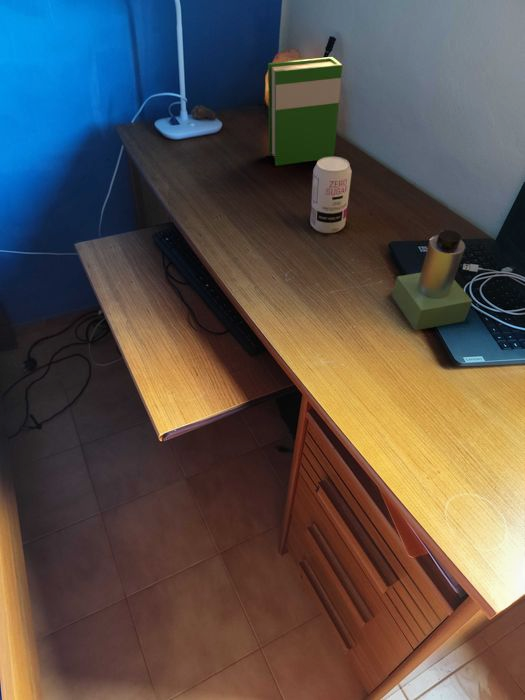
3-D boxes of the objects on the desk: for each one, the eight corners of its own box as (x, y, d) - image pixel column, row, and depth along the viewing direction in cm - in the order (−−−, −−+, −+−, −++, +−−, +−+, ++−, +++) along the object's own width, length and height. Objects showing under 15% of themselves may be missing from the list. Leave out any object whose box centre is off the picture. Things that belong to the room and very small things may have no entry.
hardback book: (275, 165, 133) (275, 71, 116) (269, 155, 138) (268, 63, 121) (333, 157, 136) (342, 64, 119) (325, 147, 141) (332, 56, 124)
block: (438, 288, 93) (444, 268, 90) (464, 321, 87) (472, 300, 83) (392, 296, 92) (396, 276, 88) (415, 330, 85) (421, 310, 82)
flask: (445, 278, 88) (462, 226, 79) (453, 298, 84) (472, 245, 75) (414, 278, 88) (428, 226, 80) (420, 298, 84) (436, 245, 76)
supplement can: (325, 212, 115) (330, 152, 104) (351, 225, 110) (360, 163, 100) (303, 225, 111) (306, 163, 100) (329, 238, 107) (336, 176, 96)
